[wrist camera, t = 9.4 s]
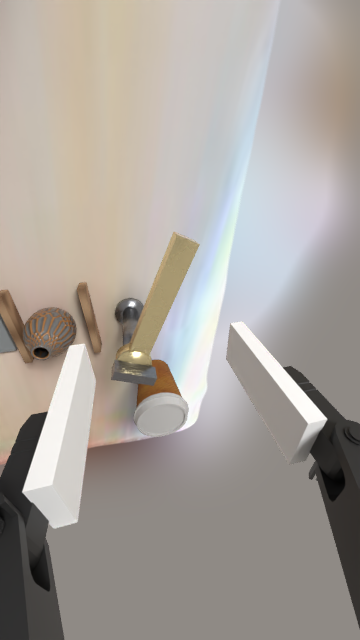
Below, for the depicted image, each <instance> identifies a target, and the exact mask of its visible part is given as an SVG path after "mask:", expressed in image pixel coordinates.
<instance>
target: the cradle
mask: <svg viewBox="0 0 360 640" xmlns="http://www.w3.org/2000/svg"><path fill="white" fill-rule="evenodd" d="M77 292H78V296H79V299H80V303H81V306H82V310H83V313H84V317H85V320H86V324H87V328H88V331H89V335H90V338H91V342H92V345H93V349H94V352H95V353H98V352H101V345H102V343H101V339H100V335H99V331H98V327H97V323H96V319H95V315H94V311H93V307H92V303H91V299H90V295H89V291H88V287H87V283H79V285H78V288H77ZM0 314H1V316H2V318H3V320H4V322H5V324H6V326H7V328H8V330H9V332H10V334H11V336H12V338H13V340H14V342H15V344H16V346H17V348H18V350H19V352H20V354H21V356H22V358H23V360H24V362H25V363H31V362H32V361H33V359H34V357H33V356H32V355H31V352H30V351H29V350H28V348H27V347H26V346H25V344H24V341H23V329H24V324H23V322H22V319H21V317H20V315H19V313H18V311H17V308H16V306H15V304H14V302H13V300H12V297H11V295H10V293H9V291H8V290H1V291H0Z"/></svg>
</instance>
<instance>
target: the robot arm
mask: <svg viewBox="0 0 360 640" xmlns="http://www.w3.org/2000/svg"><path fill="white" fill-rule="evenodd" d="M226 359H227V361H228V363H229V364H230V366H231V368H232V369H233V371H234V373H235V375H236V376H237V378H238V380H239V381H240V383H241V385H242V386H243V388H244V389H245V391H246V393H247V395H248V396H249V398H250V400H251V401H252V403H253V405H254V406H255V408H256V410H257V411H258V413H259V415H260V416H261V418H262V420H263V422H264V423H265V425H266V426H267V428H268V430H269V432H270V433H271V435H272V437H273V438H274V440H275V442H276V443H277V445H278V447H279V448H280V450H281V452H282V454H283V455H284V457H285V458H286V460H287V462H288V463H289V465H290V464H294V463H298V462H301V461H305V460H306V459H307V457H308V455H309V453H311V454H312V456H313V457H314V459H315V460H316V461H315V462H314V464H313V466H312V468H311V470H310V472H309V479H311V480H312V479H313V477H314V476H315V474H316V476H317V479H316V480H317V481H318V483H319V487H320V490H321V494H322V497H323V501H324V504H325V508H326V512H327V515H328V519H329V522H330V526H331V529H332V533H333V536H334V540H335V543H336V547H337V550H338V554H339V557H340V561H341V564H342V568H343V571H344V575H345V579H346V582H347V586H348V589H349V593H350V596H351V600H352V603H353V607H354V610H355V614H356V617H357V621H358V624H359V628H360V424H359V423H357V422H354V421H349V420H346V419H345V418H344V417H343V416H342V415H341V414H340V413H339V412H338V411H337V410H336V409H335V408H334V407H333V406H332V405H331V404H330V403H329V402H328V401H327V399H325V397H324V396H323V395H322V394H321V393H320V392H319V391H318V390H316V388H315V387H314V386H313V385H312V384H311V383H309V380H308V379H307V378H306V377H304V375H303V374H302V373H301V372H299V371H298V370H296V369H294V368H293V367H291V366H289V367H283V368H282V367H281V365H280V364H279V363H278V362H277V361H276V360H275V358H274V357H273V356H272V355H271V354H270V353H269V352H268V350H267V349H266V348H265V347H264V346H263V345H262V344H261V342H260V341H259V340H258V339H257V338H256V337H255V336H254V334H253V333H252V332H251V331H250V330H249V329H248V327H247V326H246V325H245V324H244V323H243V322H236V323H231V324H230V330H229V339H228V347H227V356H226ZM95 385H96V379H95V375H94V372H93V369H92V366H91V362H90V359H89V356H88V352H87V349H86V346H85V344H79V345H71V346H69V349H68V352H67V355H66V358H65V361H64V364H63V367H62V370H61V373H60V376H59V380H58V383H57V386H56V389H55V392H54V395H53V398H52V401H51V404H50V407H49V411H48V412H44V413H38V414H33V415H31V416H30V417H29V418H28V420H27V421H26V422H25V423H24V424H23V426H22V427H21V429H20V431H19V434H18V436H17V439H16V443H15V444H14V446H13V448H12V451H11V455H10V456H9V458H8V460H7V463H6V465H5V468H4V470H3V473H2V475H1V477H0V640H64V635H63V629H62V623H61V617H60V611H59V605H58V599H57V593H56V587H55V581H54V575H53V569H52V564H51V557H50V552H49V545H48V543H47V540H46V538H45V537H46V532H47V528H48V523H49V524H50V525H51V526H52V527H53V528H54V529H55V528H58V527H62V526H66V525H69V524H73V523H76V522H78V515H79V508H80V500H81V492H82V484H83V477H84V469H85V462H86V454H87V446H88V439H89V431H90V424H91V416H92V408H93V401H94V393H95Z"/></svg>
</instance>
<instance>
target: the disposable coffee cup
mask: <svg viewBox="0 0 360 640" xmlns="http://www.w3.org/2000/svg"><path fill="white" fill-rule="evenodd" d="M152 367H155V370H156V375H157V380H156V382H155V384H154V386H151V385H144V384H138V394H137V407H136V410H135V412H134V422H135V424H136V426H137V427H138V430H139V431H140V432H141V433H143V434H144V435H147V436H152V437H160V436H166V435H169V434H171V433H174V432H175V431H177V430H179V429H180V428H181V427H182V426H183V425H184V424H185V422H186V420H187V414H188V410H189V409H188V405H187V402H186V401H185V400H184V399H183V398H182V396H181V394H180V392H179V389H178V387H177V385H176V383H175V380H174V378H173V376H172V374H171V372H170V369H169V367H168V365H167V364H166V363H165V362H163V361H161V360H152Z"/></svg>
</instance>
